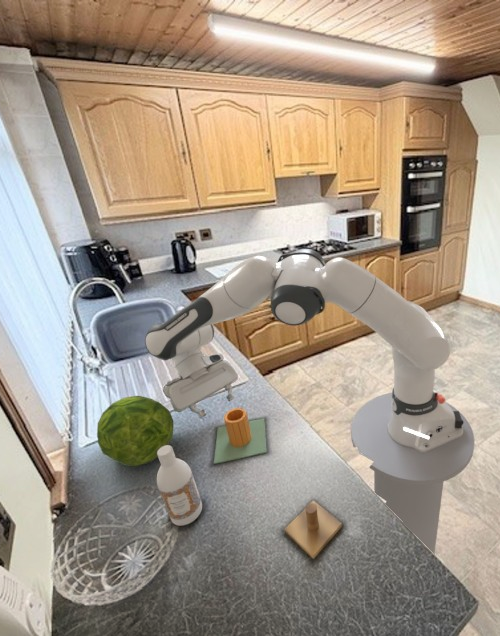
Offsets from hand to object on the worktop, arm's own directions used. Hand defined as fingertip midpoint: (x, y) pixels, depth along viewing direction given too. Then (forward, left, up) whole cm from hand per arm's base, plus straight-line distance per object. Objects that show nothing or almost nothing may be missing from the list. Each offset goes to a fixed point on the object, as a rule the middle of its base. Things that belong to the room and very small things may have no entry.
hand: (218, 408), depth 103 cm
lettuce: (+22, +2, -8) cm, 24 cm away
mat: (-6, +7, -7) cm, 12 cm away
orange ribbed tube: (-5, +7, -7) cm, 12 cm away
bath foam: (+6, +27, -8) cm, 29 cm away
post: (-22, +39, -7) cm, 45 cm away
